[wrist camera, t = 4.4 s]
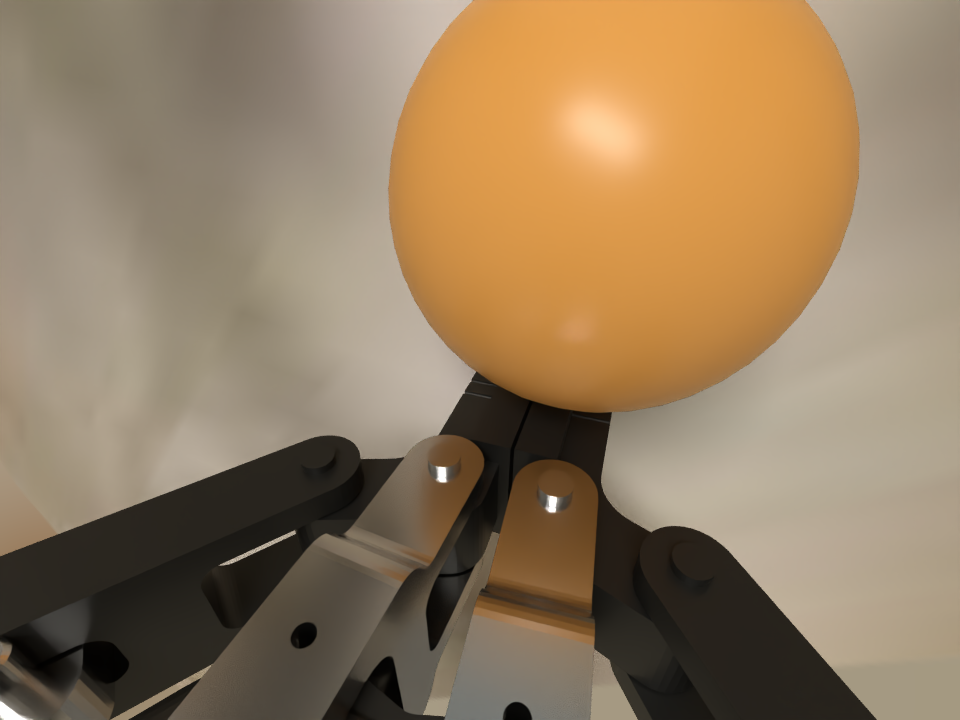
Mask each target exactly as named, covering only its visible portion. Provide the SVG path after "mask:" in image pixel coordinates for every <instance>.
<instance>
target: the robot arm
mask: <svg viewBox="0 0 960 720" xmlns="http://www.w3.org/2000/svg"><path fill="white" fill-rule="evenodd" d="M611 414H612V412H604V413H593V412H582V411H574V410H568V409H562V408H557V407H552V406H548V405H545V404H541V403H538V402H534V401H531V400H528V399H525V398H522V397H520V396H518V395H516V394H514V393H512V392H510V391H508V390H506V389H504V388H502V387H500V386H498V385H496V384H494V383H492V382H491V381H489V380H488V379H486V378H485V377H483V376H482V375H481V374H479V373H478V372H476V373H475V375H474V377H473V378H472V382H470V383H469V385H468V387H467V388H466V390H465V394H463V395H462V397H461V398H460V400H459V402H458V403H457V405H456V407H455V409H454V410H453V412H452V414H451V415H450V417H449V419H448V420H447V422H446V424H445V425H444V427H443V429H442V430H441V432H440V434H439V435H438V436H433V437H429V438H427V439H424V440H422V441H421V442H419V443H417V444H416V445H415V446H414V447H413V448H412V449H411V450H410V451H409V452H408V454H407V455H406V456H405V457H403V458H396V459H361V458H360V453H359V450H358V448H357V447H356V445H355V444H354V443H353V442H351V441H350V440H348V439H346V438H343V437H339V436H319V437H314V438H311V439H308V440H305V441H303V442H300V443H297V444H295V445H292V446H289V447H287V448H284V449H282V450H279V451H276V452H274V453H271V454H268V455H266V456H263V457H260V458H258V459H255V460H253V461H250V462H247V463H245V464H242V465H239V466H237V467H234V468H232V469H229V470H226V471H224V472H221V473H218V474H216V475H213V476H210V477H208V478H205V479H203V480H200V481H197V482H195V483H192V484H189V485H187V486H184V487H182V488H179V489H176V490H174V491H171V492H168V493H166V494H163V495H160V496H158V497H155V498H153V499H150V500H147V501H145V502H142V503H139V504H137V505H134V506H132V507H129V508H126V509H124V510H121V511H118V512H116V513H113V514H110V515H108V516H105V517H103V518H100V519H97V520H95V521H92V522H89V523H87V524H84V525H82V526H79V527H76V528H74V529H71V530H68V531H66V532H63V533H61V534H58V535H55V536H53V537H50V538H47V539H45V540H42V541H40V542H37V543H34V544H32V545H29V546H26V547H24V548H21V549H18V550H16V551H13V552H11V553H8V554H5V555H3V556H0V720H110V719H112V718H114V717H116V716H118V715H120V714H121V713H123V712H125V711H127V710H129V709H131V708H132V707H134V706H136V705H138V704H140V703H142V702H143V701H145V700H147V699H149V698H151V697H153V696H154V695H156V694H158V693H160V692H162V691H163V690H165V689H167V688H169V687H171V686H173V685H175V684H177V683H178V682H180V681H182V680H184V679H186V678H188V677H189V676H191V675H193V674H195V673H197V672H199V671H200V670H202V669H204V668H206V667H208V666H210V665H211V664H213V665H212V666H211V667H210V668H209V669H208V671H207V672H206V673H205V674H204V676H203V677H202V678H200V679H198V680H196V681H194V682H193V683H191V684H189V685H187V686H185V687H184V688H182V689H180V690H178V691H177V692H175V693H173V694H172V695H170V696H168V697H167V698H165V699H163V700H161V701H160V702H158V703H156V704H155V705H153V706H151V707H149V708H148V709H146V710H144V711H143V712H141V713H139V714H137V715H136V716H134V717H132V718H131V719H129V720H590V715H591V696H592V678H593V660H594V649H595V650H597V651H598V652H600V653H601V654H602V655H604V656H605V657H606V658H608V659H609V660H610V663H611V667H612V670H613V672H614V675H615V677H616V679H617V681H618V683H619V685H620V686H621V688H622V690H623V692H624V694H625V696H626V698H627V700H628V702H629V703H630V705H631V707H632V709H633V711H634V713H635V715H636V717H637V719H638V720H876V718H875V717H874V716H873V715H872V714H871V713H870V712H869V710H868V709H867V708H866V707H865V706H864V705H863V704H862V702H861V701H860V700H859V699H858V698H857V697H856V696H855V694H854V693H853V692H852V691H851V690H850V689H849V688H848V686H847V685H846V684H845V683H844V682H843V681H842V680H841V678H840V677H839V676H838V675H837V674H836V673H835V672H834V671H833V669H832V668H831V667H830V666H829V665H828V664H827V663H826V661H825V660H824V659H823V658H822V657H821V656H820V655H819V653H818V652H817V651H816V650H815V649H814V648H813V647H812V645H811V644H810V643H809V642H808V641H807V640H806V639H805V637H804V636H803V635H802V634H801V633H800V632H799V631H798V630H797V628H796V627H795V626H794V625H793V624H792V623H791V622H790V620H789V619H788V618H787V617H786V616H785V615H784V614H783V612H782V611H781V610H780V609H779V608H778V607H777V606H776V604H775V603H774V602H773V601H772V600H771V599H770V598H769V597H768V595H767V594H766V593H765V592H764V591H763V590H762V589H761V587H760V586H759V585H758V584H757V583H756V582H755V581H754V579H753V578H752V577H751V576H750V575H749V574H748V573H747V571H746V570H745V569H744V568H743V567H742V566H741V565H740V564H739V562H738V561H737V560H736V559H735V558H734V557H733V556H732V554H731V553H730V552H729V551H728V550H727V549H726V548H725V547H724V546H722V545H721V544H720V543H719V542H717V541H716V540H715V539H713V538H711V537H710V536H708V535H706V534H704V533H702V532H700V531H697V530H694V529H691V528H687V527H680V526H668V527H663V528H659V529H657V530H655V531H653V532H652V533H651V532H649V531H647V530H646V529H644V528H642V527H640V526H639V525H637V524H635V523H633V522H631V521H630V520H628V519H627V518H625V517H624V516H622V515H621V514H620V513H619V512H617V511H616V510H615V508H614V507H613V506H612V505H611V504H610V503H609V501H608V500H607V498H606V496H605V494H604V492H603V489H602V485H601V474H602V468H603V462H604V456H605V450H606V444H607V438H608V432H609V426H610V420H611ZM294 530H295V531H296V534H295V535H293V536H291V537H288V538H286V539H284V540H282V541H280V542H278V543H275V544H273V545H271V546H269V547H267V548H265V549H263V550H260V551H258V552H256V553H254V554H252V555H250V556H248V557H245V558H243V559H241V560H239V561H237V562H235V563H232V564H229V565H224V566H218V565H220V564H222V563H224V562H226V561H229V560H231V559H233V558H235V557H237V556H239V555H242V554H244V553H246V552H248V551H250V550H252V549H255V548H257V547H259V546H261V545H263V544H265V543H268V542H270V541H272V540H274V539H276V538H278V537H281V536H283V535H285V534H287V533H289V532H291V531H294ZM492 531H493V532H496V533H499V534H500V536H499V540H498V544H497V547H496V551H495V555H494V559H493V563H492V567H491V571H490V575H489V578H488V582H487V585H486V587H485V589H484V588H482V589H481V591H480V593H479V596H478V598H477V601H476V604H475V608H474V611H473V615H472V619H471V622H470V626H469V630H468V633H467V637H466V641H465V645H464V648H463V652H462V656H461V660H460V663H459V667H458V671H457V674H456V678H455V682H454V686H453V689H452V693H451V697H450V700H449V705H448V708H447V712H446V715H445V717H443V716H430V715H423V713H424V710H425V708H426V705H427V702H428V699H429V696H430V693H431V690H432V686H433V681H434V676H435V672H436V668H437V665H438V662H439V660H440V657H441V655H442V652H443V650H444V648H445V646H446V644H447V642H448V639H449V637H450V635H451V633H452V631H453V628H454V626H455V624H456V622H457V620H458V618H459V615H460V613H461V611H462V609H463V607H464V604H465V602H466V600H467V598H468V596H469V594H470V591H471V589H472V587H473V585H474V583H475V580H476V578H477V576H478V574H479V572H480V570H481V567H482V563H483V554H484V552H485V549H486V547H487V544H488V541H489V539H490V536H491V533H492Z"/></svg>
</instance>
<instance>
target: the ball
mask: <svg viewBox="0 0 960 720" xmlns="http://www.w3.org/2000/svg"><path fill="white" fill-rule="evenodd" d="M859 144H860V141H859V126H858V119H857V112H856V106H855V99H854V93H853V90H852V87H851V84H850V81H849V78H848V75H847V73H846V70H845V67H844V64H843V61H842V59H841V56H840V54H839V52H838V49H837V47H836V45H835V43H834V41H833V40H832V38H831V36H830V35H829V33H828V32H827V30H826V28H825V27H824V25H823V23H822V22H821V20H820V18H819V17H818V16H817V14H816V13H815V12H814V11H813V9H812V8H811V7H810V6H809V4H808V3H807V2H806V1H805V0H473V1H472V2H471V3H470V4H469V5H468V6H467V7H466V8H465V9H464V10H463V11H462V12H461V13H460V14H459V15H458V16H457V18H456V19H455V20H454V21H453V22H452V23H451V24H450V25H449V26H448V28H447V29H446V31H445V32H444V33H443V35H442V36H441V37H440V39H439V40H438V41H437V43H436V44H435V46H434V47H433V48H432V50H431V51H430V53H429V55H428V57H427V58H426V60H425V62H424V64H423V66H422V68H421V69H420V71H419V73H418V75H417V77H416V79H415V81H414V83H413V85H412V87H411V89H410V91H409V93H408V96H407V99H406V102H405V104H404V107H403V110H402V113H401V115H400V118H399V122H398V126H397V131H396V135H395V140H394V145H393V149H392V155H391V164H390V176H389V188H388V191H389V214H390V223H391V229H392V235H393V241H394V247H395V250H396V254H397V257H398V260H399V263H400V267H401V270H402V273H403V276H404V278H405V280H406V283H407V285H408V287H409V289H410V291H411V294H412V296H413V298H414V300H415V302H416V304H417V305H418V307H419V309H420V310H421V312H422V313H423V315H424V317H425V318H426V320H427V321H428V323H429V325H430V326H431V327H432V328H433V330H434V331H435V332H436V333H437V334H438V336H439V337H440V338H441V339H442V341H443V342H444V343H445V344H446V345H447V346H448V347H449V348H450V349H451V350H452V351H453V352H454V353H455V354H456V355H457V356H458V357H459V358H460V359H461V360H463V361H464V362H465V363H466V364H467V365H468V366H469V367H471V368H472V369H473V370H475V371H476V372H478V373H479V374H481V375H482V376H483V377H485V378H486V379H488V380H489V381H491V382H492V383H494V384H496V385H498V386H500V387H502V388H504V389H506V390H508V391H510V392H512V393H514V394H516V395H518V396H520V397H522V398H525V399H528V400H531V401H534V402H538V403H541V404H545V405H548V406H552V407H557V408H562V409H568V410H574V411H582V412H593V413H604V412H626V411H634V410H640V409H645V408H650V407H656V406H661V405H665V404H668V403H671V402H674V401H677V400H680V399H683V398H686V397H689V396H692V395H694V394H696V393H698V392H700V391H702V390H704V389H707V388H709V387H711V386H713V385H715V384H717V383H719V382H721V381H723V380H725V379H726V378H728V377H729V376H731V375H732V374H734V373H736V372H737V371H739V370H740V369H742V368H743V367H745V366H747V365H748V364H750V363H751V362H752V361H753V360H755V359H756V358H757V357H758V356H759V355H760V354H762V353H763V352H764V351H765V350H766V349H768V348H769V347H770V346H771V345H772V344H774V343H775V342H776V341H777V340H778V339H779V338H780V337H781V336H782V334H783V333H784V332H785V331H786V330H787V329H788V328H789V327H790V326H791V325H792V324H793V323H794V321H795V320H796V319H797V318H798V317H799V316H800V315H801V313H802V312H803V310H804V309H805V308H806V306H807V305H808V303H809V302H810V300H811V299H812V298H813V296H814V295H815V293H816V292H817V290H818V289H819V288H820V286H821V284H822V283H823V281H824V279H825V277H826V275H827V273H828V271H829V269H830V267H831V265H832V263H833V261H834V260H835V258H836V256H837V254H838V252H839V250H840V247H841V244H842V241H843V238H844V236H845V233H846V230H847V227H848V224H849V221H850V218H851V215H852V211H853V206H854V200H855V195H856V190H857V184H858V179H859Z"/></svg>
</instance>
